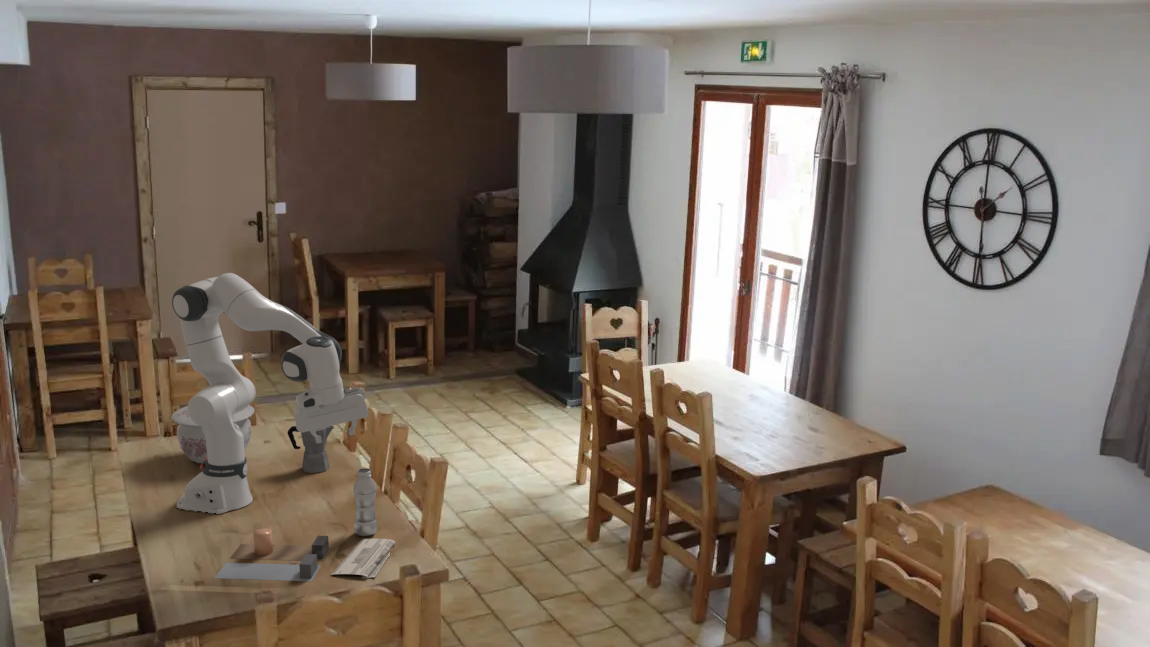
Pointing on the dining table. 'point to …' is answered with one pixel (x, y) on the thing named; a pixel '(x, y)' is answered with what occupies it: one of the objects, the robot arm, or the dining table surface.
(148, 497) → the dining table surface
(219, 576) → the grey strip
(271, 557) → the walnut strip
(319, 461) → the coffeepot
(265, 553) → the canister
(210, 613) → the dining table surface
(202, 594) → the dining table surface
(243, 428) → the chamber pot
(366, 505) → the plastic bottle
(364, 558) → the newspaper
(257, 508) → the dining table surface
